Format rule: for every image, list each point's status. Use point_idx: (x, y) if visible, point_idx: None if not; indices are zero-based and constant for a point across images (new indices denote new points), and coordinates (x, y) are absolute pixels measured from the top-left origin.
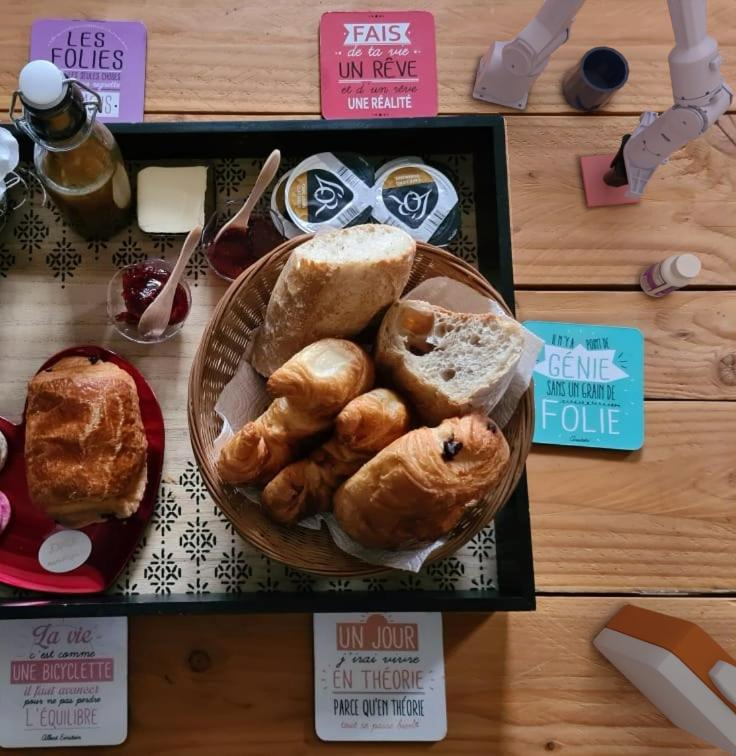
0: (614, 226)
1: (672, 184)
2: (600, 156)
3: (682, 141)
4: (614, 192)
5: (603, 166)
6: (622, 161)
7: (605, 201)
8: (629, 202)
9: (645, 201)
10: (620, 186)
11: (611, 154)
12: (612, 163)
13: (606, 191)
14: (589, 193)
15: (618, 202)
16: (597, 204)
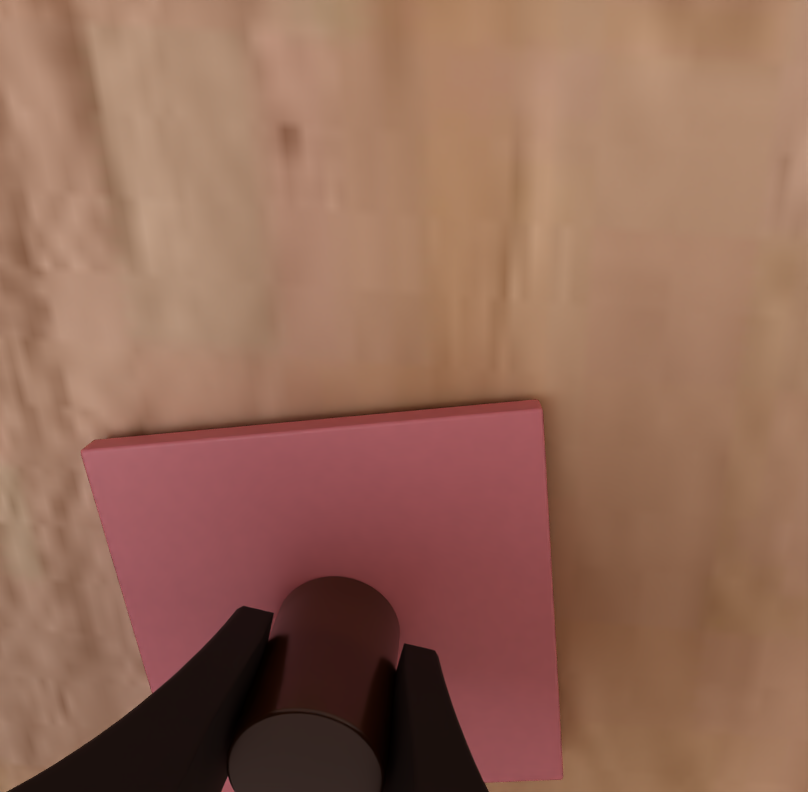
0: (731, 585)
1: (339, 26)
2: (156, 677)
3: None
4: (456, 608)
5: None
6: (210, 777)
7: (535, 678)
8: (547, 494)
9: (521, 319)
10: (443, 677)
11: (125, 601)
12: None
13: (448, 664)
14: None
15: (548, 588)
16: (558, 732)
